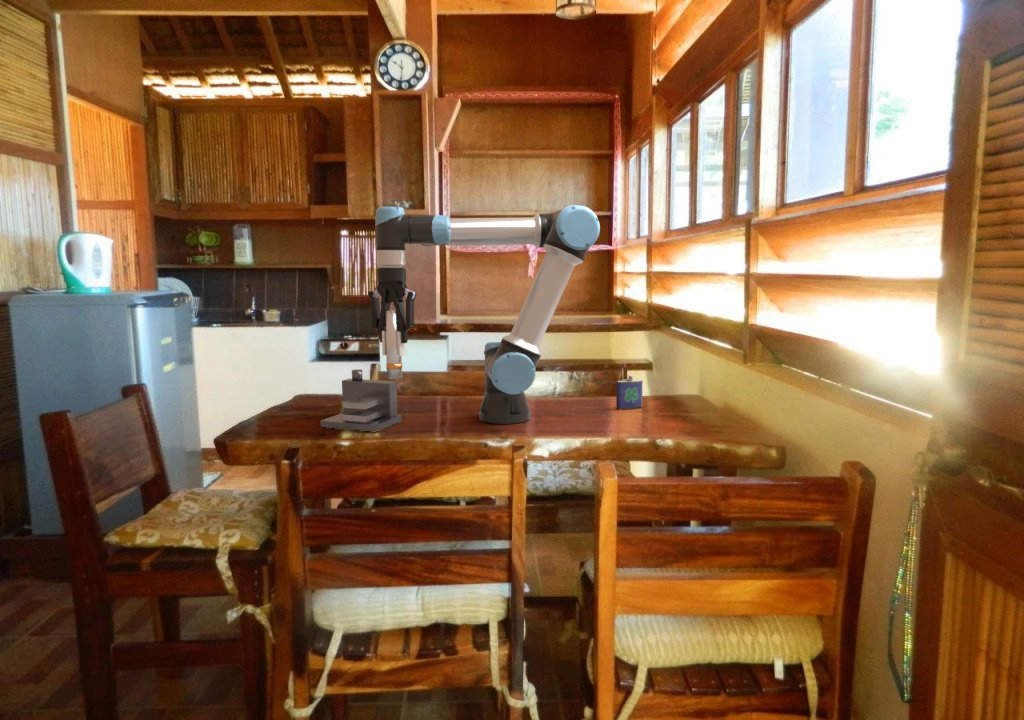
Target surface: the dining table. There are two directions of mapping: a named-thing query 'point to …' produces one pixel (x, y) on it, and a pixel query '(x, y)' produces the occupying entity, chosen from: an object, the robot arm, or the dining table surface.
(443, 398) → the dining table surface
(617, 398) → the flask
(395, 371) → the tube
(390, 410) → the grey slotted rack
